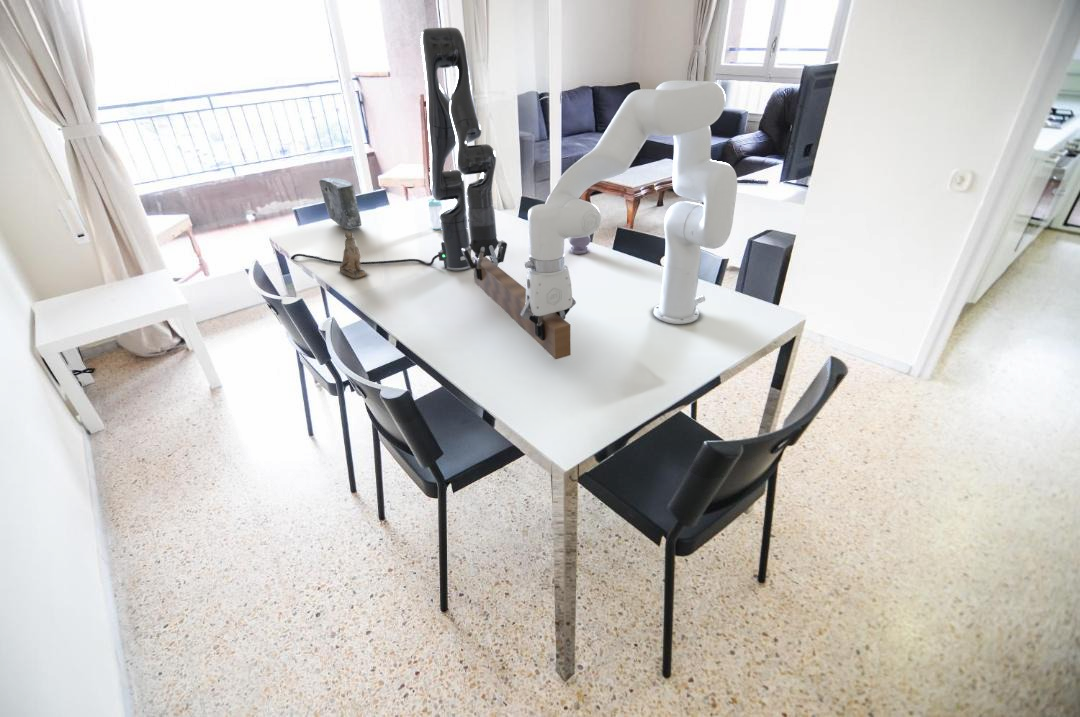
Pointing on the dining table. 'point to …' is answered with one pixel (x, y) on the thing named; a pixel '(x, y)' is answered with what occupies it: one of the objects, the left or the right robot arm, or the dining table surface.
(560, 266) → the right robot arm
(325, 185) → the concrete block
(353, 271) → the brown carved statuette
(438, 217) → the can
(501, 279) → the post
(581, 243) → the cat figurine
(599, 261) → the dining table surface
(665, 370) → the dining table surface
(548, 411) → the dining table surface
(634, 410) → the dining table surface
